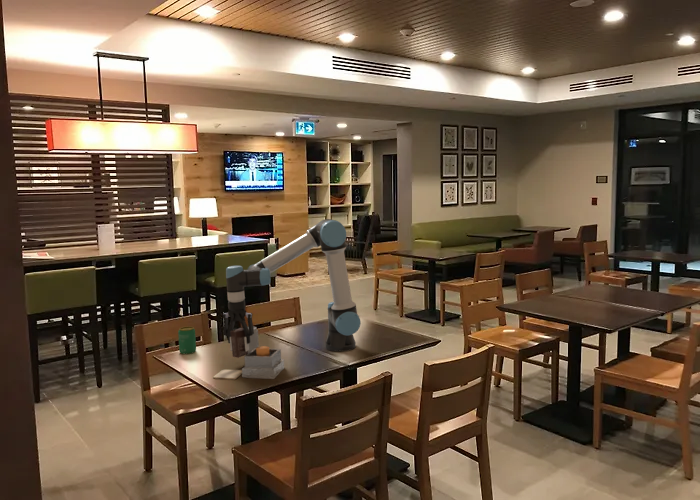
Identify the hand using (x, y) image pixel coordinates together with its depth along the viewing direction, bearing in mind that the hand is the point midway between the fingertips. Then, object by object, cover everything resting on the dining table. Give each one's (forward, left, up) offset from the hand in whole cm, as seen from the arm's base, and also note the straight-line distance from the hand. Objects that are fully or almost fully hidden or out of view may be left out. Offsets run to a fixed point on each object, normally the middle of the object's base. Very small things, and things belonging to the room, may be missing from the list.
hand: (239, 350), depth 255 cm
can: (+3, -20, -7) cm, 21 cm away
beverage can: (+34, -15, -7) cm, 37 cm away
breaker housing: (-14, +9, -7) cm, 18 cm away
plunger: (-14, +9, +1) cm, 17 cm away
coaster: (0, +14, -7) cm, 16 cm away
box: (0, 0, -3) cm, 3 cm away
